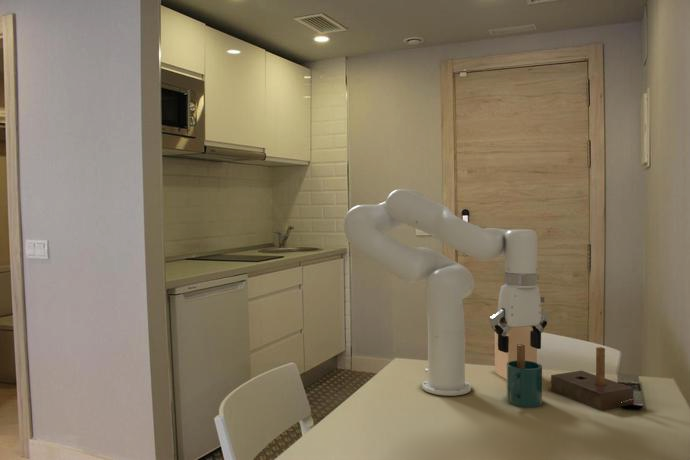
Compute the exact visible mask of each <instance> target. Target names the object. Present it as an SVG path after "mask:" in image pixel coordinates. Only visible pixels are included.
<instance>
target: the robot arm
mask: <svg viewBox="0 0 690 460" xmlns="http://www.w3.org/2000/svg"><path fill="white" fill-rule="evenodd" d="M405 225H407V226H409V227H412V228H414V229H416V230H419V231H420V232H423V233H425V234H427V235H429V236H432V237H433V238H435V239H436V240H437V241H439V242H441V243H443V244H444V245H446V246H448V247H449V248H451V249H454V250H455V251H457V252H460V253H462V254H463V255H464V254H465V255H467V256H469V257H471V258H474V259H477V260H481V261H482V260H483V261H486V260H491V259H495V258H500V257H504V284H502V285H501V287H500V290H499V296H498V302H497V312H495V313H494V314H492V315H491V316H489V318H488V321H489V323H490V325H491V328H492V330H493V331H494V333H495V332H496V334H498V350H499V351H502V352H505V353H508V351H509V337H508V336H506V335H507V333H508V332H509V330H510V329H511V328H518V327H529V326H530V327H531V328H532V329H533V331H531V332H530V346H531V347H534V348H537V350H541V349H542V334H543V333H544V330H545V328H546V327H547V325H548V321H549V319H550V316H551V314H550V313H549V312H548V311H546V310H544V309H542V303H541V300H540V297H541V293H540V288H539V285H538V280H540V275H539V274H538V234H537V231H535V230H533V229H525V228H524V229H522V228H521V229H518V228H517V229H516V228H515V229H514V228H513V229H505V228H499V227H485V228H484V227H481V226H478V225H476V224H473V223H472V222H469V221H466V220H465V219H462V218H460V217H458V216H457V215H455V214H454V213H453V212H452V210H451V209H450V207H448V206H446V205H445V204H442V203H439V202H437V201H435V200H432V199H429V198H427V197H425V195H424V194H423V193H422V192H420V191H418V190H416V189H408V188H399V189H395V190H393V191H391V192H390V193H389V194H388V196H387V197H386V199H385V201H383V202H381V203H378V204H377V203H376V204H358V205H356V206H353V207H351V208H350V209H349V210H348V211H347V212H346V214H345V216H344V220H343V230H344V234H345V237H346V239H347V241H348V243H349V245H350V247H352V249H353V250H354V251H356V253H358V254H359V255H360V256H362V257H364V258H365V259H367V260H369V262H372V263H374V264H375V265H377V266H379V267H380V268H381V269H383V270H385V271H386V272H388V273H390V274H392V275H393V276H395V277H397V278H398V279H399V280H401V281H403V282H404V283H406V284H411V285H415V284H419V283H424V284H425V285H424V297H425V303H426V315H427V367H426V368H425V369H424V373H425V374H427V379H425V380H424V381H422V383H421V388H422V390H423V391H425V392H427V393H428V394H429V393H430V394H432V395H437V396H444V397H445V396H446V397H448V396H449V397H452V396H453V397H455V396H462V395H465V394H468V393H470V392H471V391H472V385H471V383H470V382H468V381H466V325H465V324H466V323H465V322H466V321H465V310H464V305H463V304H464V303H463V300H464V299H466V298H468V297H469V296H470V295H471V294H472V292H473V291H474V288H475V279H474V276H473V274H472V273H471V271H470V270H469V269H468V268H467V267H466V266H464V265H462V264H460V263H458V262H457V261H455V260H453V259H451V258H449V257H448V256H445V255H444V254H442V253H440V252H438V251H436V250H435V249H432V248H429V247H424V246H419V247H418V246H417V247H411V246H408V245H406V244H404V243H402V242H400V241H398V240H396V239H395V238H393V237H392V236H389V235H388V234H384V233H388V232H389V231H392V230H394V229H397V228H399V227H402V226H405ZM498 323H499V324H500V325H498Z"/></svg>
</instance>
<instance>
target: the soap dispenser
mask: <svg viewBox="0 0 690 460" xmlns="http://www.w3.org/2000/svg"><path fill="white" fill-rule="evenodd" d="M540 300H541V304H542V303H545V296H540ZM498 325H500V324H499V323H498ZM531 331H533V329H532V328H531V327H530V326H529V327H518V328H511V329H510V330H509V332H508V333H507V335H506V336H508V337H509V351H508V353H505V352H502V351H499V350H498V334H496V332H495V331H494V374H496V375H498V376H499V377H501V378H503V379H505V380H506V381H507V363H508V362H510V361H516V360H517V345H518V344H523V345H525V361H532V362H536V363H538V349H537V348H534V347H531V346H530V332H531Z"/></svg>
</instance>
